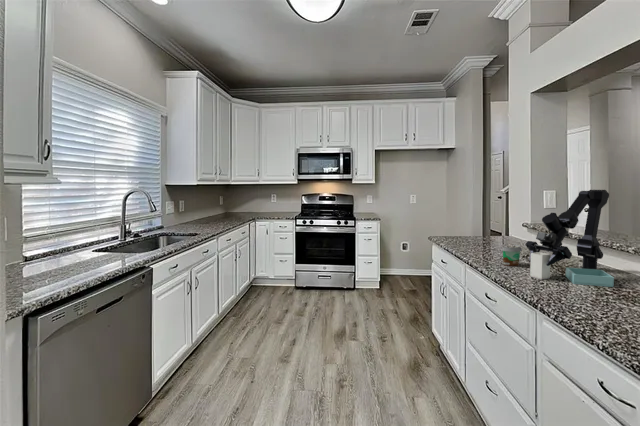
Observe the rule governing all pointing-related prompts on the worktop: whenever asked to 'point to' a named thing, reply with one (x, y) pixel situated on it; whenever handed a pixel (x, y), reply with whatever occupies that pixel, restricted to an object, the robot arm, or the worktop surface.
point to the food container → (511, 255)
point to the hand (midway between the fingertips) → (538, 263)
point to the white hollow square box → (540, 265)
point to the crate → (589, 277)
